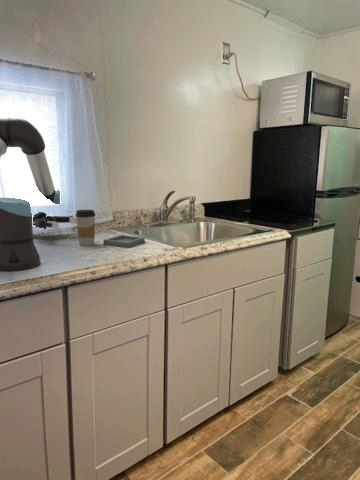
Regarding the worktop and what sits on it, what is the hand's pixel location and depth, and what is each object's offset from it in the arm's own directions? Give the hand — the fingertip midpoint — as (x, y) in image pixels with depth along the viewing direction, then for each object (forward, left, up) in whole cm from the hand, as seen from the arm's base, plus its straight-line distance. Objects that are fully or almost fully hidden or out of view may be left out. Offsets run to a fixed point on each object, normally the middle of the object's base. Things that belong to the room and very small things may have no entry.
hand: (69, 223), depth 167 cm
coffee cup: (0, -10, -9) cm, 13 cm away
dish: (+10, -23, -9) cm, 26 cm away
